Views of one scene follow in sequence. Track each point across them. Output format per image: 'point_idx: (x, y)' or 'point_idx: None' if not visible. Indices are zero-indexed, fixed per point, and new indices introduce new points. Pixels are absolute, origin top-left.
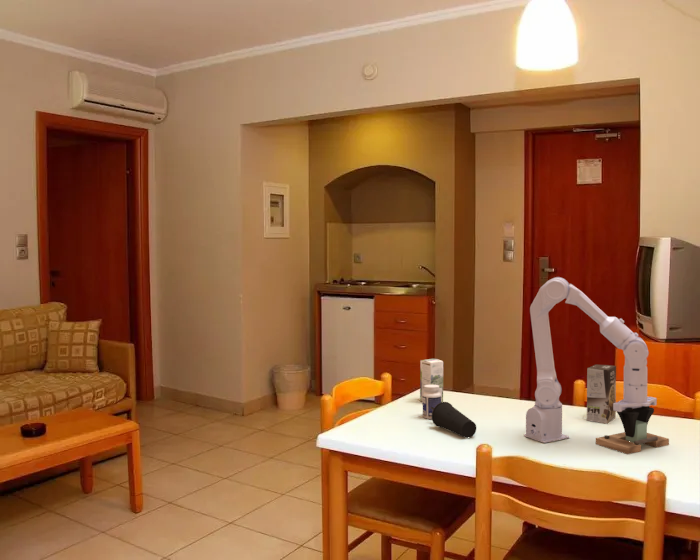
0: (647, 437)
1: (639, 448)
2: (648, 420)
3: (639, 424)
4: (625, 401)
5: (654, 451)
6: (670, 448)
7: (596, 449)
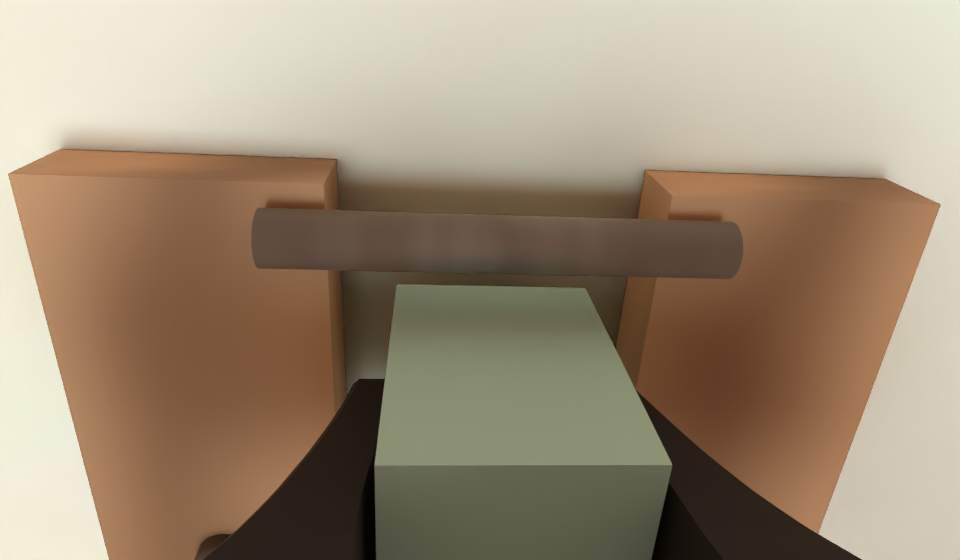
0: (270, 363)
1: (685, 183)
2: (269, 515)
3: (618, 460)
4: None
5: (510, 67)
6: (183, 26)
7: (928, 441)
